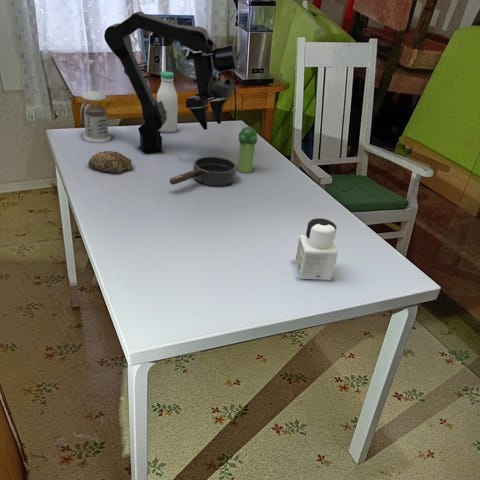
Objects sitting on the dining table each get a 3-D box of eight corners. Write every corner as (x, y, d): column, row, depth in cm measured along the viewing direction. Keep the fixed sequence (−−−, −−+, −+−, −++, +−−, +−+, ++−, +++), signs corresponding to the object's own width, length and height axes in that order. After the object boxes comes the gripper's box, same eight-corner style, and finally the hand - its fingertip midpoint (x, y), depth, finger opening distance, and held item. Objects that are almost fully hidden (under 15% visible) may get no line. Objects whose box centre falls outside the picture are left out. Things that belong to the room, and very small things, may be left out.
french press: (117, 136, 186) (113, 60, 171) (96, 145, 177) (90, 66, 162) (94, 130, 189) (88, 54, 173) (73, 139, 180) (65, 60, 165)
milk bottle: (180, 128, 199) (181, 72, 187) (171, 134, 193) (172, 76, 181) (162, 124, 200) (162, 68, 188) (153, 130, 195) (152, 72, 182)
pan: (205, 189, 158) (205, 175, 155) (186, 172, 166) (186, 158, 163) (242, 183, 163) (243, 170, 161) (222, 168, 172) (223, 154, 169)
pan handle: (199, 173, 160) (199, 167, 158) (203, 175, 159) (204, 169, 158) (168, 184, 151) (168, 177, 150) (172, 186, 150) (173, 179, 149)
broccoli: (244, 175, 169) (249, 132, 160) (229, 168, 172) (233, 125, 164) (259, 171, 173) (264, 128, 164) (244, 164, 176) (248, 122, 168)
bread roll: (82, 167, 162) (81, 151, 159) (108, 156, 171) (107, 140, 168) (116, 177, 158) (115, 161, 155) (140, 165, 167) (140, 150, 164)
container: (294, 262, 129) (303, 214, 121) (324, 263, 130) (335, 215, 122) (299, 279, 123) (309, 230, 115) (331, 280, 124) (343, 231, 116)
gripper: (212, 75, 151) (220, 131, 158) (240, 67, 165) (247, 119, 172) (180, 79, 156) (189, 133, 163) (210, 71, 170) (218, 121, 177)
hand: (212, 126), depth 169 cm, fingers open, 9 cm apart
